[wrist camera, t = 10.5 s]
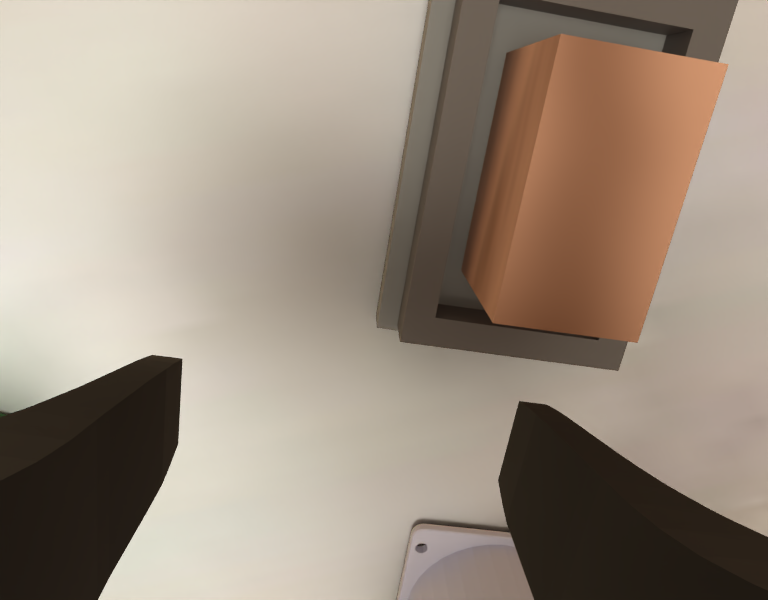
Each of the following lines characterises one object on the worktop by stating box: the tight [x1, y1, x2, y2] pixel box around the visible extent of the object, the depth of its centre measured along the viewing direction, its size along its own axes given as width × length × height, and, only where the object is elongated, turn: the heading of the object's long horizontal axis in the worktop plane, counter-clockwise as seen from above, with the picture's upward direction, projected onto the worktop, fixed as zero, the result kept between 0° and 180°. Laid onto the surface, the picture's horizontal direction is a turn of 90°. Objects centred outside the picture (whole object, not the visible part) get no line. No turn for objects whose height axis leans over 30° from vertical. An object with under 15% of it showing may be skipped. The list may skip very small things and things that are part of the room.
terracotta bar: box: [461, 34, 728, 343], centre depth 16 cm, size 4×7×5 cm, turn 171°
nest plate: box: [376, 0, 738, 371], centre depth 18 cm, size 12×9×3 cm
